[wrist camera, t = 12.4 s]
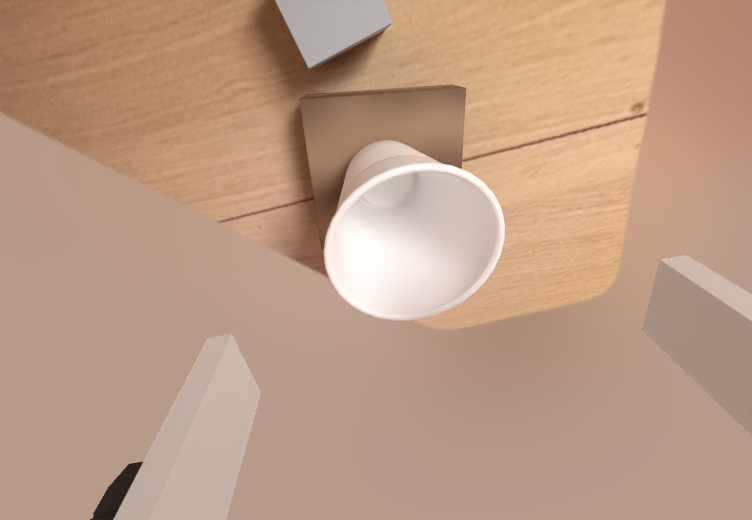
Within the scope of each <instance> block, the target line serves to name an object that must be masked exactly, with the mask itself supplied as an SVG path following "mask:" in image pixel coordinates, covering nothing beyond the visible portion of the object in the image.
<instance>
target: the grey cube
mask: <svg viewBox="0 0 752 520" xmlns="http://www.w3.org/2000/svg"><path fill="white" fill-rule="evenodd" d="M275 1H276V3H277V5H278V7H279V9H280V11H281V13H282V15H283V17H284V19H285V21H286V23H287V26H288V28H289V30H290V32H291V34H292V36H293V38H294V40H295V42H296V44H297V46H298V48H299V50H300V52H301V54H302V56H303V58H304V60H305V62H306V64H307V66H308V68H315V67H318V66H320V65H322V64H324V63H326V62H327V61H329V60H331V59H333V58H335V57H337V56H338V55H340V54H342V53H344V52H346V51H348V50H349V49H351V48H353V47H355V46H357V45H359V44H361V43H362V42H364V41H366V40H368V39H370V38H372V37H373V36H375V35H377V34H379V33H381V32H383V31H384V30H386V29H387V28H388V27H389V26H390V25H391V24H392V20H391V18H390V15H389V12H388V10H387V7H386V4H385V1H384V0H275Z"/></svg>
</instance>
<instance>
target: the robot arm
mask: <svg viewBox="0 0 752 520" xmlns="http://www.w3.org/2000/svg"><path fill="white" fill-rule="evenodd" d="M642 330H643V331H644V332H645V333H646V334H647V335H648V336H649V337H650V338H651V339H652V340H653V341H654V342H655V343H656V344H657V345H658V346H659V347H660V348H661V349H662V350H663V351H665V352H666V353H667V354H668V355H669V356H670V357H671V358H672V359H673V360H674V361H675V362H676V363H677V364H678V365H679V366H680V367H681V368H682V369H683V370H684V371H685V372H686V373H688V374H689V375H690V376H691V377H692V378H693V379H694V380H695V381H696V382H697V383H698V384H699V385H700V386H701V387H702V388H703V389H704V390H705V391H706V392H707V393H708V394H710V395H711V396H712V397H713V398H714V399H715V400H716V401H717V402H718V403H719V404H720V405H721V406H722V407H723V408H724V409H725V410H726V411H727V412H729V414H730V415H732V416H733V417H734V418H735V419H736V420H737V421H738V422H739V423H740V424H741V425H742V426H743V427H744V428H745V429H746V430H747V431H748V432H749V433H750V434H751V435H752V294H750V293H748V292H747V291H745V290H743V289H742V288H740V287H738V286H737V285H735V284H733V283H732V282H730V281H728V280H727V279H725V278H723V277H722V276H720V275H718V274H717V273H715V272H713V271H712V270H710V269H708V268H707V267H705V266H704V265H702V264H700V263H699V262H696V261H695V260H694V259H692V258H690V257H688V256H687V255H685V256H679V257H673V258H667V259H662V260H660V262H659V266H658V269H657V273H656V277H655V282H654V285H653V289H652V293H651V297H650V301H649V305H648V309H647V313H646V316H645V321H644V324H643V328H642ZM260 394H261V392H260V390H259V388H258V386H257V384H256V382H255V380H254V378H253V376H252V374H251V372H250V370H249V368H248V366H247V364H246V362H245V360H244V358H243V356H242V354H241V352H240V350H239V348H238V346H237V344H236V342H235V340H234V338H233V336H232V334H227V335H221V336H215V337H210V338H208V339H207V340H206V343H205V344H204V346H203V348H202V350H201V352H200V354H199V356H198V358H197V360H196V362H195V364H194V366H193V368H192V369H191V371H190V373H189V375H188V377H187V379H186V381H185V383H184V385H183V387H182V389H181V391H180V392H179V394H178V396H177V398H176V400H175V402H174V404H173V406H172V408H171V410H170V412H169V414H168V416H167V417H166V419H165V421H164V423H163V425H162V427H161V429H160V431H159V433H158V435H157V437H156V439H155V441H154V442H153V444H152V446H151V448H150V450H149V452H148V454H147V456H146V458H145V460H144V462H138V463H132V464H129V465H128V466H127V467H126V468H125V469H124V470H123V471H122V473H121V474H120V475H119V476H118V477H117V478H116V479H115V480H114V482H113V483H112V484H111V485H110V486H109V487H108V489H107V491H106V492H105V494H104V496H103V498H102V499H101V501H100V503H99V505H98V507H97V508H96V510H95V512H94V513H93V514H94V517H93V519H90V520H226V517H227V513H228V509H229V506H230V502H231V499H232V495H233V492H234V488H235V484H236V481H237V477H238V473H239V470H240V466H241V463H242V459H243V456H244V452H245V448H246V445H247V441H248V438H249V434H250V430H251V427H252V423H253V420H254V416H255V412H256V409H257V405H258V401H259V397H260Z"/></svg>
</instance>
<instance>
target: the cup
mask: <svg viewBox="0 0 752 520" xmlns="http://www.w3.org/2000/svg"><path fill="white" fill-rule="evenodd" d="M504 231H505V223H504V218H503V214H502V210H501V207H500V205H499V203H498V201H497V199H496V197H495V195H494V194H493V192H492V191H491V190H490V189H489V188H488V187H487V186H486V185H485V183H484V182H483V181H481V180H480V179H478V178H477V177H475V176H474V175H473V174H471V173H470V172H468V171H465V170H463V169H460V168H457V167H455V166H452V165H446V164H442V163H440V162H438V161H436V160H434V159H432V158H430V157H428V156H426V155H425V154H422V153H420V152H418V151H417V150H415V149H413V148H411V147H409V146H407V145H405V144H403V143H400V142H397V141H391V140H384V141H378V142H374V143H372V144H369V145H367V146H365V147H364V148H363V149H361V150H360V151H359V152H358V153H357V154H356V155H355V156H354V157H353V159H352V161H351V162H350V164H349V166H348V169H347V172H346V176H345V180H344V184H343V188H342V192H341V196H340V200H339V203H338V207H337V210H336V213H335V215H334V216H333V218H332V220H331V222H330V225H329V228H328V230H327V233H326V237H325V244H324V251H323V252H324V262H325V268H326V271H327V274H328V277H329V280H330V282H331V284H332V285H333V287H334V288H335V290H336V291H337V293H338V294H339V295H340V296H341V297H342V298H343V299H344V300H345V301H346V302H347V303H348V304H350V305H351V306H353V307H355V308H356V309H357V310H359V311H361V312H363V313H366V314H368V315H371V316H373V317H377V318H382V319H387V320H400V321H406V320H416V319H422V318H426V317H430V316H434V315H437V314H439V313H442V312H444V311H447V310H449V309H451V308H453V307H454V306H456V305H458V304H459V303H461V302H463V301H464V300H465V299H467V298H468V297H469V296H471V295H472V294H473V293H474V292H476V291H477V289H478V288H479V287H480V286H481V285H482V284H483V283H484V282H485V281H486V280H487V278H488V277H489V275H490V274H491V272H492V271H493V269H494V268H495V266H496V264H497V261H498V259H499V257H500V255H501V251H502V247H503V243H504Z"/></svg>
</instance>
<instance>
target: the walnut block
mask: <svg viewBox="0 0 752 520" xmlns="http://www.w3.org/2000/svg"><path fill="white" fill-rule="evenodd" d="M465 97H466V88H464V87H459V86H455V85H437V86H423V87H408V88H394V89H379V90H365V91H351V92H336V93H322V94H307V95H305V96H304V97H302V98H301V99H300V100H299V101H300V108H301V115H302V121H303V128H304V135H305V141H306V148H307V155H308V162H309V168H310V175H311V182H312V188H313V195H314V202H315V208H316V215H317V222H318V229H319V235H320V242H321V249H324V244H325V237H326V233H327V230H328V228H329V225H330V222H331V220H332V218H333V216H334V215H335V213H336V210H337V207H338V203H339V200H340V196H341V192H342V188H343V184H344V180H345V176H346V172H347V169H348V166H349V164H350V162H351V161H352V159H353V157H354V156H355V155H356V154H357V153H358V152H359V151H360V150H361V149H363V148H364V147H365V146H367V145H369V144H372V143H374V142H378V141H384V140H391V141H397V142H400V143H403V144H405V145H407V146H409V147H411V148H413V149H415V150H417V151H418V152H420V153H422V154H425V155H426V156H428V157H430V158H432V159H434V160H436V161H438V162H440V163H442V164H446V165H452V166H455V167H457V168H460V169H461V168H462V150H463V133H464V115H465Z"/></svg>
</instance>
